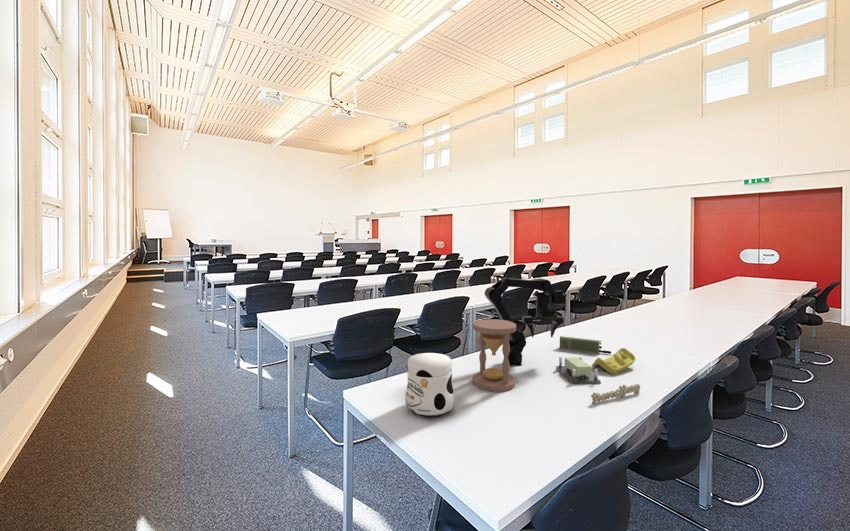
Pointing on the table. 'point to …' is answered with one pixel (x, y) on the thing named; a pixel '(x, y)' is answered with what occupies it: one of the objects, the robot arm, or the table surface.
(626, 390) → the decorative sign
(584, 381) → the chassis
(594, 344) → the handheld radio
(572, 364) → the board
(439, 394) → the milk container
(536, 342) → the table surface
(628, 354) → the plastic component
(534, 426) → the table surface
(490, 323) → the hourglass
